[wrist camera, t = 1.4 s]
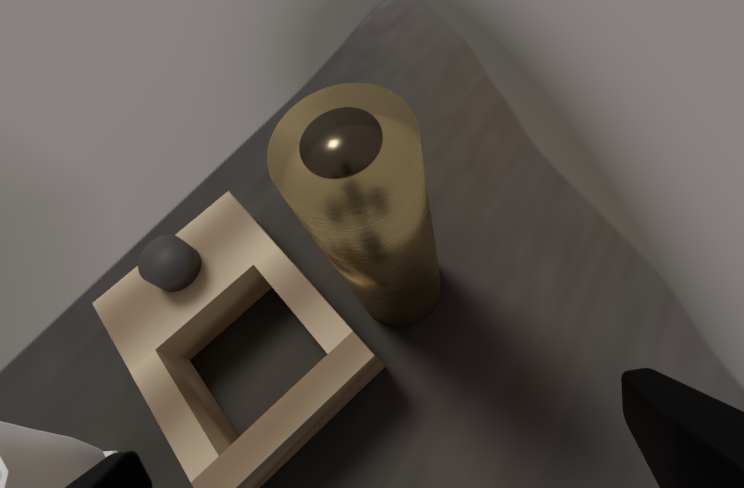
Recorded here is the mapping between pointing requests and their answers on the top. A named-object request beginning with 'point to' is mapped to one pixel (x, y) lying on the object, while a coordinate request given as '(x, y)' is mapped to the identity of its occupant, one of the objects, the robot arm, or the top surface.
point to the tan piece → (362, 194)
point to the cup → (43, 458)
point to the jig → (205, 322)
